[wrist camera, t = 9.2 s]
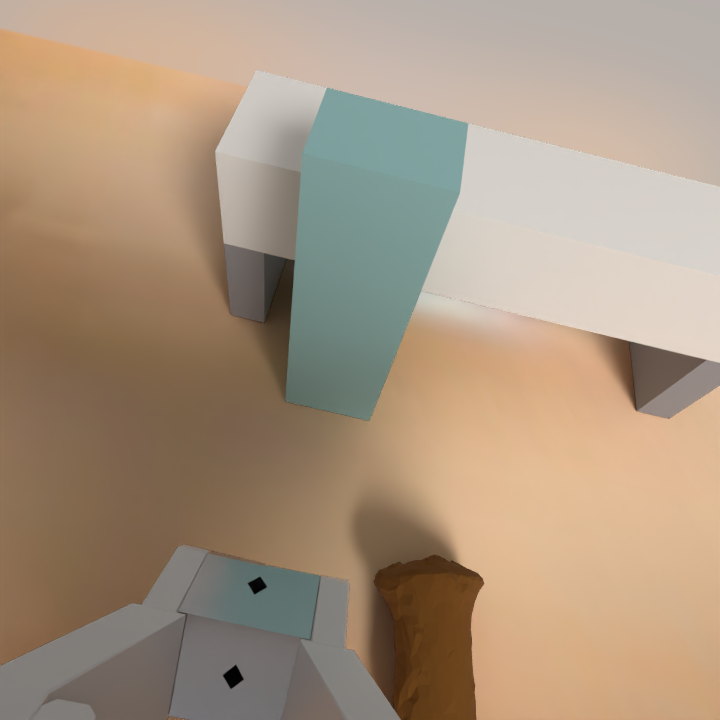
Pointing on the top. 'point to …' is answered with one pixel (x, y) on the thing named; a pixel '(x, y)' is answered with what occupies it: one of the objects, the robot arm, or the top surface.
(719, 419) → the top surface
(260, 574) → the robot arm
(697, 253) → the white bench
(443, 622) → the primitive tool
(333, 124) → the block
